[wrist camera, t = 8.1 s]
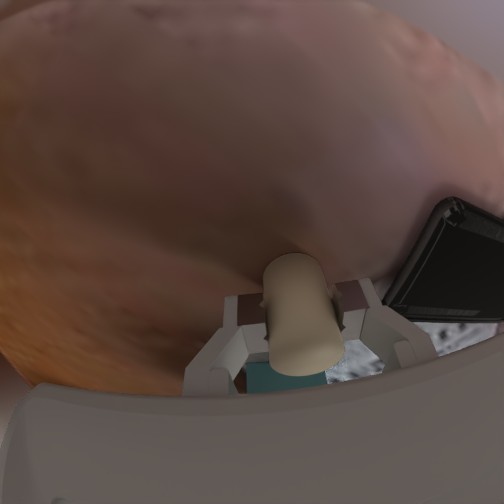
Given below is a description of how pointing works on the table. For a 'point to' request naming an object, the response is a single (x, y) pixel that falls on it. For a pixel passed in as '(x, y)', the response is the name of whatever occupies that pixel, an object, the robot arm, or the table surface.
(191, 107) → the table surface
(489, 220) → the phone
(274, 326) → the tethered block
